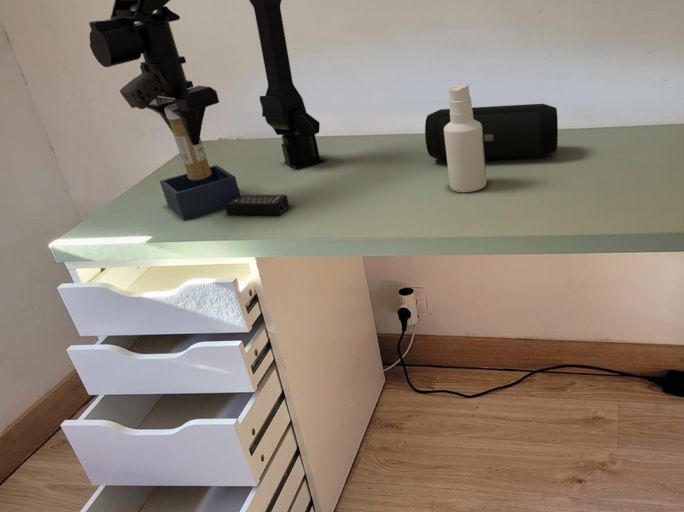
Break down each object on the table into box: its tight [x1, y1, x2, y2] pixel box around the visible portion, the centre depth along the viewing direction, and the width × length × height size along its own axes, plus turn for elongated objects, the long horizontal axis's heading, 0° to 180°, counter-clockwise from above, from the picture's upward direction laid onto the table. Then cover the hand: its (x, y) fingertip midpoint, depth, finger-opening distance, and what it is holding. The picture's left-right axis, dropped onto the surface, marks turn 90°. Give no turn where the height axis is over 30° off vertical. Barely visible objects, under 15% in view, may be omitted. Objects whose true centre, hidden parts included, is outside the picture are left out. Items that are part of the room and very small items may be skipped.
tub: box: [159, 164, 241, 221], centre depth 136 cm, size 11×10×5 cm
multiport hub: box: [224, 194, 290, 217], centre depth 131 cm, size 4×11×2 cm, turn 75°
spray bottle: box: [444, 82, 488, 193], centre depth 127 cm, size 7×7×18 cm
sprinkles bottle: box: [164, 103, 212, 181], centre depth 131 cm, size 5×5×13 cm
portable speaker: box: [424, 103, 559, 162], centre depth 141 cm, size 26×10×10 cm, turn 81°
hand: (188, 143), depth 131 cm, fingers closed on sprinkles bottle, 4 cm apart
